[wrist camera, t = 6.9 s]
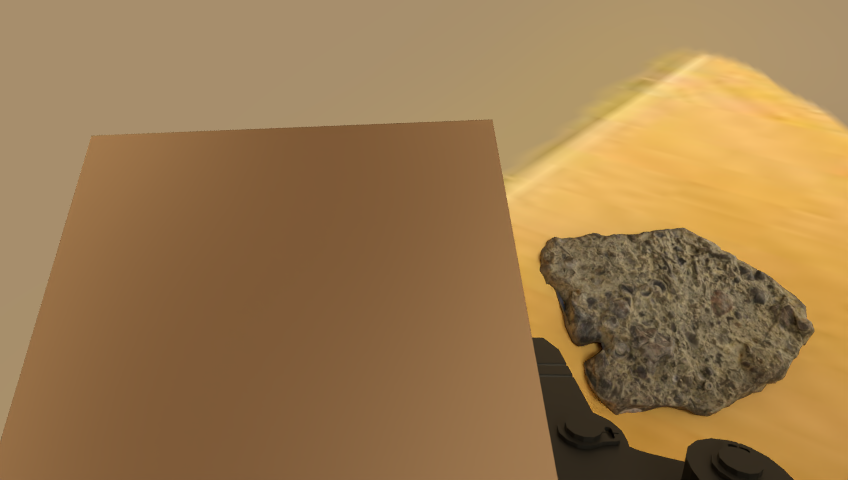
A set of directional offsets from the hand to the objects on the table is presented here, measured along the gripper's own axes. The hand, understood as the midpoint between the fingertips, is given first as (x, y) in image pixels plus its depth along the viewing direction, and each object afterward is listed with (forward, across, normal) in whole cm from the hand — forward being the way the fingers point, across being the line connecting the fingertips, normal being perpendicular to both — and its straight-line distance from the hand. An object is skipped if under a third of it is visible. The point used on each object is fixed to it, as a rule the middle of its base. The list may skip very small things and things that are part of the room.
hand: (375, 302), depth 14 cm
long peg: (+1, 0, -6) cm, 6 cm away
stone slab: (+18, +18, -8) cm, 27 cm away
